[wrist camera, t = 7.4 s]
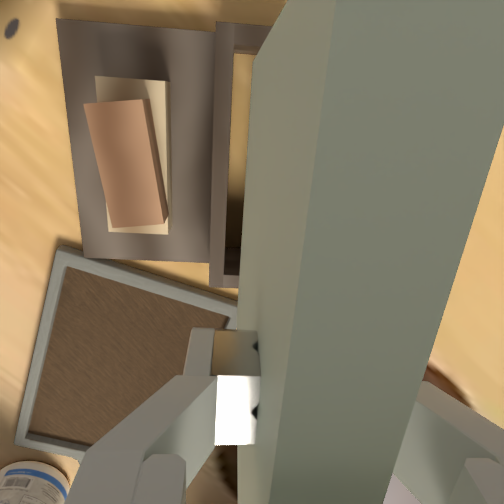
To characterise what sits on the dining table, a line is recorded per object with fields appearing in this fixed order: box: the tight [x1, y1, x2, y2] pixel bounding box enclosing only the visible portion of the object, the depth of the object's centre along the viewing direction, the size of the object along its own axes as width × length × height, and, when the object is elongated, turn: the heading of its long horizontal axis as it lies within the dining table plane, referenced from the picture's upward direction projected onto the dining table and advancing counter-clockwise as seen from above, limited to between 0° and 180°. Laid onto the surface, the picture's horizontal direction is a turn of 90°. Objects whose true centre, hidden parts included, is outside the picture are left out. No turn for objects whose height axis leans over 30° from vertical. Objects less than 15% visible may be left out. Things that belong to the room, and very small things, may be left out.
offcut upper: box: [83, 99, 169, 228], centre depth 28 cm, size 4×9×2 cm, turn 4°
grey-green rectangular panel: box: [237, 0, 504, 504], centre depth 13 cm, size 2×14×16 cm, turn 176°
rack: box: [56, 18, 272, 288], centre depth 30 cm, size 18×19×6 cm
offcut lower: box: [95, 76, 173, 235], centre depth 30 cm, size 5×12×2 cm, turn 176°
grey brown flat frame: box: [14, 245, 238, 464], centre depth 43 cm, size 19×2×30 cm
